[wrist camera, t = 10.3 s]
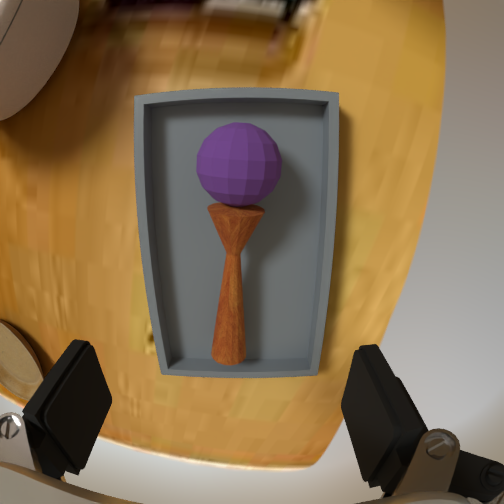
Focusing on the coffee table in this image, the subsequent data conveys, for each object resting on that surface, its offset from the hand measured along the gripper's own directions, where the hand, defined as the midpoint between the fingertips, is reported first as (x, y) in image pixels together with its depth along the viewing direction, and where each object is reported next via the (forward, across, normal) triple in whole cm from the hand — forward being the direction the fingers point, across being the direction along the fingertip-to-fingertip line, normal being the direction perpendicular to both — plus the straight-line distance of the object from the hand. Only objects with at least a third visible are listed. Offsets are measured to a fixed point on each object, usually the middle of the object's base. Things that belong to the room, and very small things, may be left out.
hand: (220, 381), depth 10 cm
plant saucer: (+18, +33, +17) cm, 41 cm away
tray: (+17, 0, +1) cm, 17 cm away
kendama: (+17, 0, +1) cm, 17 cm away
